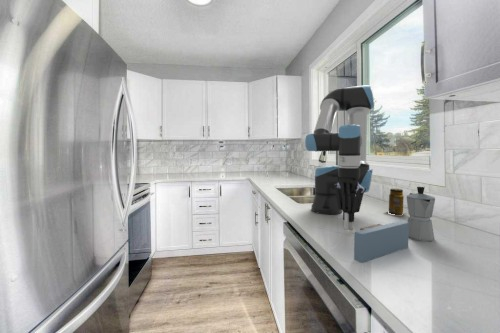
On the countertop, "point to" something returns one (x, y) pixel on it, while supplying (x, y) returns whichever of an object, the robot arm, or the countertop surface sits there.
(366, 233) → the slate board
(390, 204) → the condiment
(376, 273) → the countertop surface
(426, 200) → the coffee maker
